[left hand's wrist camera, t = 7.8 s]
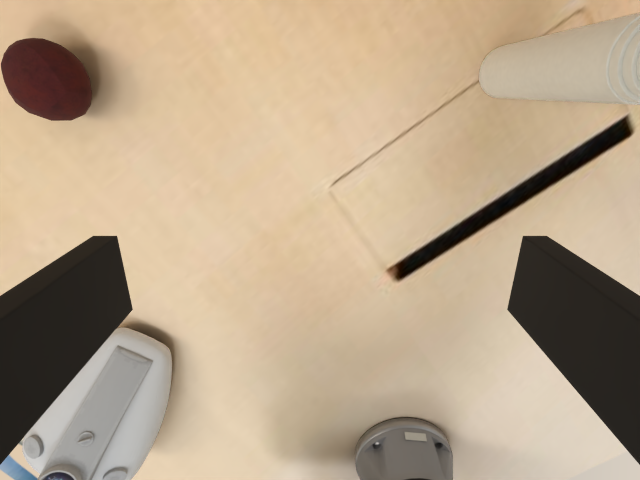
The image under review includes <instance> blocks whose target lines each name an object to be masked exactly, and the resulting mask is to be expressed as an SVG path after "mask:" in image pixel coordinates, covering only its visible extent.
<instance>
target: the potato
mask: <svg viewBox="0 0 640 480" xmlns="http://www.w3.org/2000/svg"><path fill="white" fill-rule="evenodd" d="M1 69H2V74H3V78H4V82H5V84H6V87H7V89H8V92H9V93H10V95H11V96H12V98H13V99H14V101H15V102H16V103H17V104H18V105H19V106H21V107H22V108H23V109H25V110H26V111H27V112H29V113H31V114H34V115H37V116H40V117H43V118H46V119H49V120H73V119H75V118H78V117H80V116H82V115H84V114H85V113H86V112H87V110H88V109H89V107H90V104H91V97H92V91H91V84H90V78H89V76H88V74H87V72H86V70H85V68H84V66H83V64H82V63H81V62H80V61H79V60H78V59H77V58H76V57H75V56H74V55H73V54H72V53H71V52H70V51H68V50H67V49H65V48H64V47H62V46H61V45H59V44H56V43H54V42H51V41H48V40H45V39H39V38H29V39H23V40H19V41H16V42H15V43H13V44H12V45H10V46H9V47H8V49H7V50H6V52H5V53H4V56H3V59H2V62H1Z"/></svg>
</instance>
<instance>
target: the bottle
mask: <svg viewBox="0 0 640 480" xmlns="http://www.w3.org/2000/svg"><path fill="white" fill-rule="evenodd" d="M479 82H480V85H481V87H482V89H483V91H484V92H485V93H486V94H487V95H489V96H491V97H494V98H505V99H526V100H548V101H569V102H590V103H612V104H633V105H640V13H636V14H632V15H628V16H623V17H619V18H615V19H611V20H607V21H603V22H599V23H594V24H590V25H586V26H582V27H578V28H574V29H570V30H566V31H561V32H557V33H553V34H549V35H545V36H541V37H537V38H532V39H528V40H524V41H520V42H516V43H512V44H508V45H503V46H500V47H497V48H495V49H494V50H492V51H491V52H490V53H489V54H488V55H487V56H486V57H485V59H484V60H483V62H482V64H481V67H480V70H479Z"/></svg>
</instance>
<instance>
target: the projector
mask: <svg viewBox="0 0 640 480" xmlns="http://www.w3.org/2000/svg"><path fill="white" fill-rule="evenodd" d="M171 378H172V357H171V352H170V350H169V348H168V347H167V346H166V345H164V344H163V343H161V342H159V341H157V340H155V339H153V338H151V337H149V336H147V335H145V334H142V333H140V332H137V331H134V330H132V329H129V328H123V327H122V328H117V329H116V330H115V331H114V332H113V333H112V334H111V335H110V337H109V338H108V339H107V340H106V341H105V342H104V344H103V345H102V346H101V347H100V348H99V349H98V351H97V352H96V353H95V354H94V355H93V356H92V358H91V359H90V360H89V361H88V362H87V364H86V365H85V366H84V367H83V368H82V369H81V371H80V372H79V373H78V374H77V375H76V376H75V378H74V379H73V380H72V381H71V382H70V383H69V385H68V386H67V387H66V388H65V389H64V390H63V392H62V393H61V394H60V395H59V396H58V398H57V399H56V400H55V401H54V402H53V403H52V405H51V406H50V407H49V408H48V409H47V410H46V412H45V413H44V414H43V415H42V416H41V417H40V419H39V420H38V421H37V422H36V423H35V424H34V426H33V427H32V428H31V429H30V430H29V432H28V433H27V434H26V435H25V437H24V440H23V454H24V457H25V459H26V460H27V462H28V463H29V464H30V465H31V466H32V468H33V469H35V470H36V471H37V472H38V473H40V476H39V478H38V480H131V479H132V478H133V477H134V475H135V474H136V473H137V472H138V470H139V469H140V467H141V466H142V464H143V462H144V461H145V459H146V457H147V455H148V453H149V452H150V450H151V448H152V446H153V443H154V441H155V439H156V437H157V434H158V432H159V430H160V427H161V424H162V421H163V419H164V415H165V412H166V408H167V404H168V399H169V394H170V387H171Z"/></svg>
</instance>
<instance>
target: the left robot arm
mask: <svg viewBox="0 0 640 480" xmlns="http://www.w3.org/2000/svg"><path fill="white" fill-rule="evenodd" d="M132 310H133V309H132V304H131V300H130V295H129V290H128V286H127V281H126V276H125V272H124V267H123V262H122V257H121V253H120V248H119V243H118V239H117V236H93V237H91V238H89V239H88V240H86V241H85V242H83V243H82V244H80V245H79V246H77V247H75V248H74V249H72V250H71V251H69V252H68V253H66V254H65V255H63V256H62V257H60V258H58V259H57V260H55V261H54V262H52V263H51V264H49V265H48V266H46V267H44V268H43V269H41V270H40V271H38V272H37V273H35V274H34V275H32V276H30V277H29V278H27V279H26V280H24V281H23V282H21V283H20V284H18V285H17V286H15V287H13V288H12V289H10V290H9V291H7V292H6V293H4V294H3V295H1V296H0V464H1V463H2V462H3V461H4V460H5V458H6V457H7V456H8V455H9V454H10V452H11V451H12V450H13V449H14V448H15V447H16V446H17V444H18V443H19V442H20V441H21V440H22V439H23V437H24V436H25V435H26V434H27V433H28V432H29V430H30V429H31V428H32V427H33V426H34V424H35V423H36V422H37V421H38V420H39V419H40V417H41V416H42V415H43V414H44V413H45V412H46V410H47V409H48V408H49V407H50V406H51V405H52V403H53V402H54V401H55V400H56V399H57V398H58V396H59V395H60V394H61V393H62V392H63V390H64V389H65V388H66V387H67V386H68V385H69V383H70V382H71V381H72V380H73V379H74V378H75V376H76V375H77V374H78V373H79V372H80V371H81V369H82V368H83V367H84V366H85V365H86V364H87V362H88V361H89V360H90V359H91V358H92V356H93V355H94V354H95V353H96V352H97V351H98V349H99V348H100V347H101V346H102V345H103V344H104V342H105V341H106V340H107V339H108V338H109V337H110V335H111V334H112V333H113V332H114V331H115V330H116V328H117V327H118V326H119V325H120V324H121V323H122V321H123V320H124V319H125V318H126V317H127V315H128V314H129V313H130V312H131V311H132ZM507 310H508V311H509V312H510V313H511V314H512V315H513V317H514V318H515V319H516V320H517V321H518V323H519V324H520V325H521V326H522V327H523V328H524V330H525V331H526V332H527V333H528V334H529V335H530V337H531V338H532V339H533V340H534V341H535V342H536V344H537V345H538V346H539V347H540V348H541V349H542V351H543V352H544V353H545V354H546V355H547V357H548V358H549V359H550V360H551V361H552V362H553V364H554V365H555V366H556V367H557V368H558V369H559V371H560V372H561V373H562V374H563V375H564V376H565V378H566V379H567V380H568V381H569V382H570V383H571V385H572V386H573V387H574V388H575V389H576V390H577V392H578V393H579V394H580V395H581V396H582V398H583V399H584V400H585V401H586V402H587V403H588V405H589V406H590V407H591V408H592V409H593V410H594V412H595V413H596V414H597V415H598V416H599V417H600V419H601V420H602V421H603V422H604V423H605V424H606V426H607V427H608V428H609V429H610V430H611V432H612V433H613V434H614V435H615V436H616V437H617V439H618V440H619V441H620V442H621V443H622V444H623V446H624V447H625V448H626V449H627V450H628V451H629V453H630V454H631V455H632V456H633V457H634V458H635V460H636V461H637V462H638V463H639V464H640V296H639V295H637V294H636V293H634V292H633V291H631V290H630V289H628V288H627V287H625V286H623V285H622V284H620V283H619V282H617V281H616V280H614V279H613V278H611V277H610V276H608V275H606V274H605V273H603V272H602V271H600V270H599V269H597V268H596V267H594V266H592V265H591V264H589V263H588V262H586V261H585V260H583V259H582V258H580V257H578V256H577V255H575V254H574V253H572V252H571V251H569V250H568V249H566V248H565V247H563V246H561V245H560V244H558V243H557V242H555V241H554V240H552V239H551V238H549V237H547V236H523V239H522V243H521V248H520V253H519V257H518V262H517V267H516V272H515V276H514V281H513V286H512V290H511V295H510V300H509V304H508V309H507ZM355 461H356V470H357V473H358V475H359V477H360V480H453V455H452V451H451V448H450V446H449V443H448V440H447V438H446V436H445V435H444V433H443V432H442V431H441V430H440V429H439V428H437V427H436V426H435V425H433V424H431V423H429V422H426V421H424V420H420V419H414V418H397V419H391V420H388V421H384V422H382V423H379V424H377V425H375V426H374V427H372V428H371V429H369V430H368V431H367V432H366V433H365V434H364V435H363V436H362V437H361V438H360V440H359V442H358V443H357V446H356V449H355Z"/></svg>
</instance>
